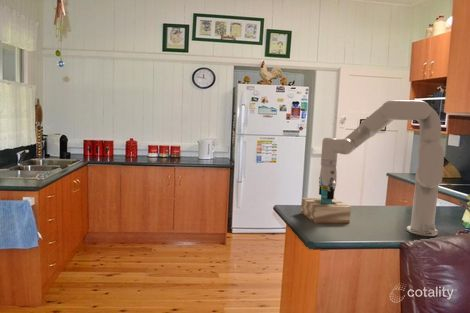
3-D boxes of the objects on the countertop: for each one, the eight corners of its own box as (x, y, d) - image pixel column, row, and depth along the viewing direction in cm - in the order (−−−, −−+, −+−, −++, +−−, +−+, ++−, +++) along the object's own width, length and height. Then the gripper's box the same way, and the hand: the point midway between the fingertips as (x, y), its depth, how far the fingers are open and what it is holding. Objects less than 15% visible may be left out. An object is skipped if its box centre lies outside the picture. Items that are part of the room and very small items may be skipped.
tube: (316, 215, 189) (319, 177, 187) (319, 212, 194) (321, 175, 191) (331, 217, 186) (334, 178, 184) (334, 215, 190) (336, 177, 188)
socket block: (349, 223, 183) (350, 206, 182) (314, 223, 180) (315, 206, 179) (333, 213, 201) (334, 198, 200) (300, 213, 197) (302, 198, 196)
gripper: (343, 165, 179) (340, 201, 181) (328, 160, 196) (325, 193, 198) (329, 165, 178) (326, 200, 180) (314, 160, 195) (312, 193, 197)
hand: (326, 196), depth 189 cm, fingers open, 9 cm apart
